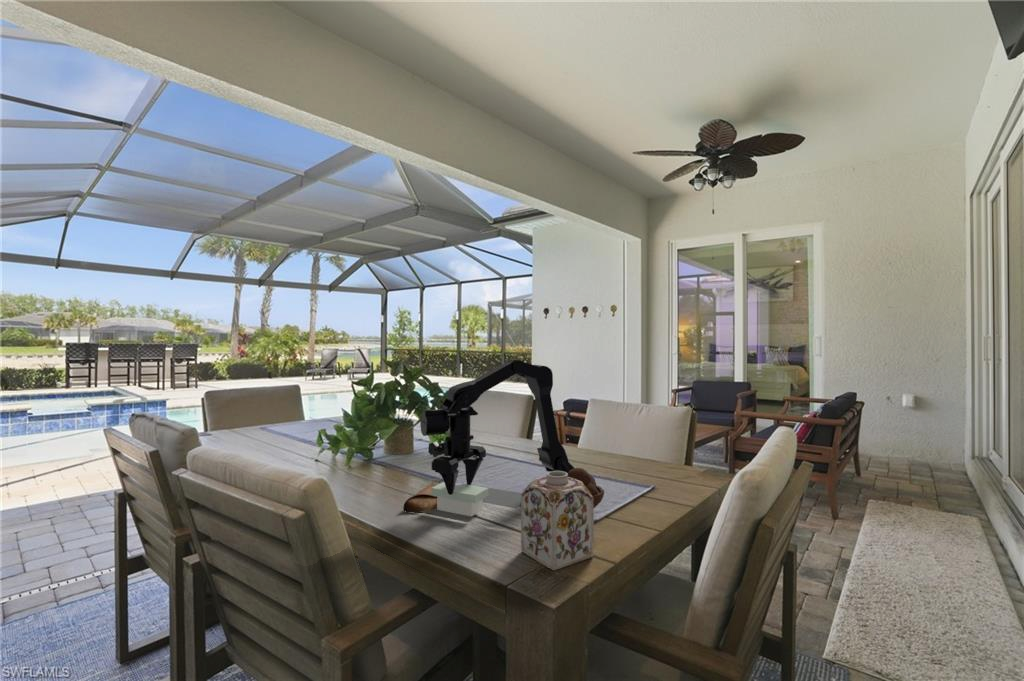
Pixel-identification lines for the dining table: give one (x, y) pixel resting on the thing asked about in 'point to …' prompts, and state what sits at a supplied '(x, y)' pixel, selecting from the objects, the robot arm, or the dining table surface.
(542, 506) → the decorative jar
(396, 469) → the dining table surface
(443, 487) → the sage lid
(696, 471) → the dining table surface
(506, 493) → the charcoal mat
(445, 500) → the white rectangular box
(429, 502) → the sunglasses case
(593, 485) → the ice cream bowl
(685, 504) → the dining table surface
